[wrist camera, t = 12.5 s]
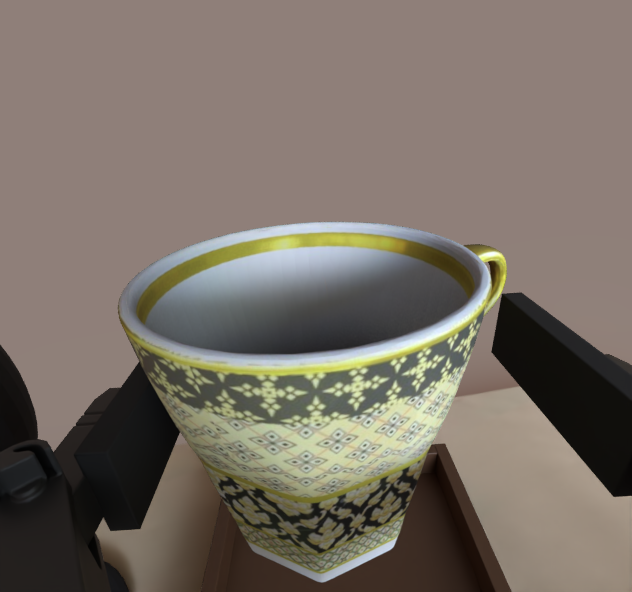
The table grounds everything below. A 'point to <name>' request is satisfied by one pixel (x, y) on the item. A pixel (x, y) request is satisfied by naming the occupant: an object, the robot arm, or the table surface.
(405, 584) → the tray
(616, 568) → the table surface
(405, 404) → the ceramic cup
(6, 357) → the wine glass
